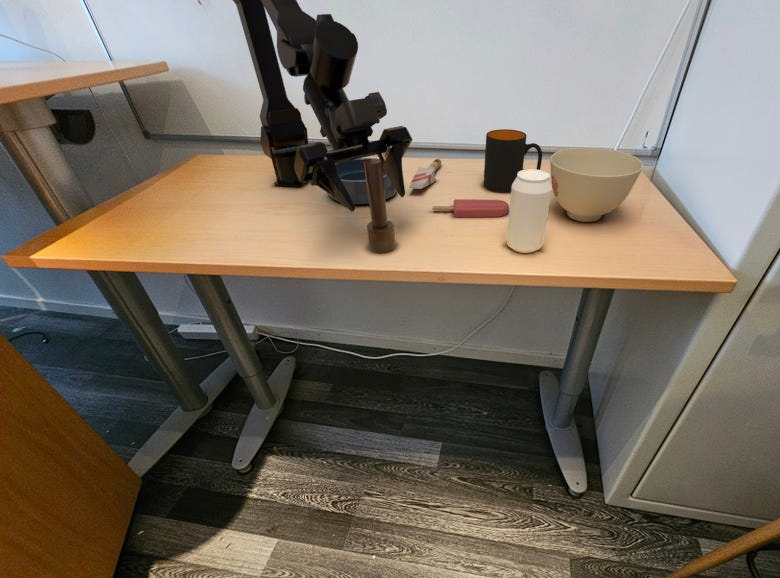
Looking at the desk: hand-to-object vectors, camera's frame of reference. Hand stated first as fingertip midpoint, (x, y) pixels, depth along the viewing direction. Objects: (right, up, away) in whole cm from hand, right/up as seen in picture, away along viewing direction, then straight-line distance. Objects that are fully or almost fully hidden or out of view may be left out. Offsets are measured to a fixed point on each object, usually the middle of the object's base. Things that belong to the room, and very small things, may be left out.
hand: (379, 202), depth 65 cm
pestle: (0, -6, +6) cm, 8 cm away
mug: (+25, +13, +26) cm, 39 cm away
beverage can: (+24, -6, +6) cm, 25 cm away
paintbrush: (+6, +16, +30) cm, 34 cm away
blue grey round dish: (-7, +11, +24) cm, 27 cm away
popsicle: (+15, +4, +16) cm, 23 cm away
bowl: (+37, +3, +15) cm, 40 cm away
